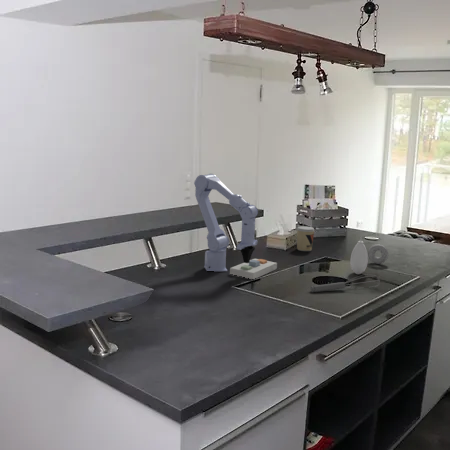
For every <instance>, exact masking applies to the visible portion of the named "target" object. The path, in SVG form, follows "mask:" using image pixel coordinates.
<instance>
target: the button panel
mask: <svg viewBox="0 0 450 450" xmlns="http://www.w3.org/2000/svg"><path fill="white" fill-rule="evenodd" d="M259 259H260V258H252V259H250V261H251V260H259ZM244 265H248V266H249V263H244V262H242V263H239V264H237V265H235V266H232V267H230V268H229V275H230V274H233V275H232V276H234V275H237V276H236V277H239V276H242V277H241V278H243V277H245V278H244V279H248V278H249V280H252V279H254V280H255V278H256V279H257V278H260V277H262V276H264V275H267V274H268V273H271V272H274V271H276V270H277V268H278V262H273V261H269V260H267V263H265V264H261V263H260V266H258V267H252V269H251V270H243V269H241V266H244Z"/></svg>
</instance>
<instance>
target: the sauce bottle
mask: <svg viewBox="0 0 450 450" xmlns="http://www.w3.org/2000/svg"><path fill="white" fill-rule="evenodd" d="M362 237H363V236H360V239H359V240H358V241H357V243H356V244H355V245H354V246H353V249H352V251H351V253H350V254H351V255H350V260H349V263H350V264H349V265H350V268H351V271H353V272H354V274H356V275H361V274H363V273H364V272H365V270H366V269H367V267H368V262H369V257H368V250H367V248H366V245H365V244H364V243H365V242H364V241H363V240H362Z"/></svg>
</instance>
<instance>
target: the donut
mask: <svg viewBox="0 0 450 450" xmlns="http://www.w3.org/2000/svg"><path fill="white" fill-rule="evenodd" d="M376 252H380V253H381V255H380V256H376ZM367 254H368V260H370V261H371V262H372V263H373V264H377V265H381V264H384V263H385V262H387V260H388V259H389V251H388V249H387V248H386V246H384V245H383V244H379V243H378V244H377V243H376V244H373V245H371V246H370V247H369V249H368V250H367Z"/></svg>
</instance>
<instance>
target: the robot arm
mask: <svg viewBox="0 0 450 450" xmlns="http://www.w3.org/2000/svg"><path fill="white" fill-rule="evenodd" d="M193 184H194V188H195V190H194V192H195V193H194V194H195V195H194V196H195V198H196V202H197V204H198V207H199V210H200V212H201V215H202V218H203V220H204V224H205V226H206V227H205V228H206V229H207V232H208V233H207V235H206V239H207V247H208V249H209V250H206V251H204V252H205V253H204V266H203V267H204V269H205V271H206V272H207V271H214V272H228V269H227V267H226V262H227V261H226V260H227V259H226V258H227V247H228V246H229V245H230V239H229V237H228V236H227V235H226V233H225V231H224V230H223V229H221V227H220V225H219V223H218V219H217V216H216V214H215V211H214V208H213V206H212V203H211V200H210V198H209V196H210V193H211V191H212V190H214V191H217V192H218V193H219V194H220V195H222V196H223V197H224V198H225V199H227V200H228V202H229V205H230V206H231V207H232V208H233V209H235V210H236V211H237V212H238V213H239V215H240V218H241V236H240V237H241V238H240V242H239V244H236V250H239V251H240V253H241V256H242V261H243V263H249V262H250V260H251V257H252V255H253V252H254V251H255V250H256V247H255V246H257V245H258V239H255V230H256V217H257V216H258V214H259V210H258V208H257V207H256V205H254V204H250V202H248V201H247V200H245V199H244V198H243V195H242V194H238V193H236V194H235V193H233V192H232V191H231V189H230V188H228V187H227V186H226V184H225V183H223V182H222V181H221V180H220V177H219V176H216V175H215V174H214V173H208V174H199V175H197V177H196V178H195V180H194V182H193Z"/></svg>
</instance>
